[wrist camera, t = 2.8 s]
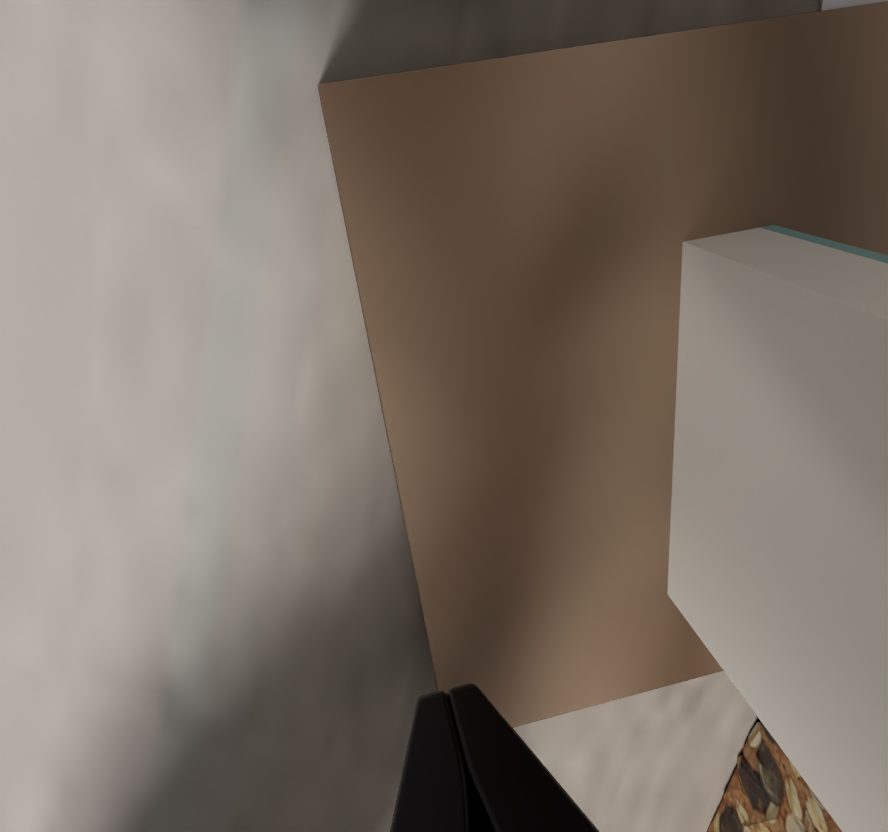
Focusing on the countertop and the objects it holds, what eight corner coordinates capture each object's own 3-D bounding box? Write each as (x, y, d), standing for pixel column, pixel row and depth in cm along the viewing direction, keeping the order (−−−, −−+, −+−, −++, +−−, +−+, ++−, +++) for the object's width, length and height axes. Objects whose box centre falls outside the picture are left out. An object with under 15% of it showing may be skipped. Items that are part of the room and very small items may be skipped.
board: (441, 707, 18) (449, 744, 17) (317, 85, 11) (319, 83, 10) (934, 577, 20) (969, 604, 19) (1116, -32, 13) (1190, -43, 12)
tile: (667, 594, 16) (886, 891, 10) (682, 242, 12) (1070, 387, 6) (735, 577, 17) (991, 859, 10) (774, 224, 12) (1237, 349, 6)
